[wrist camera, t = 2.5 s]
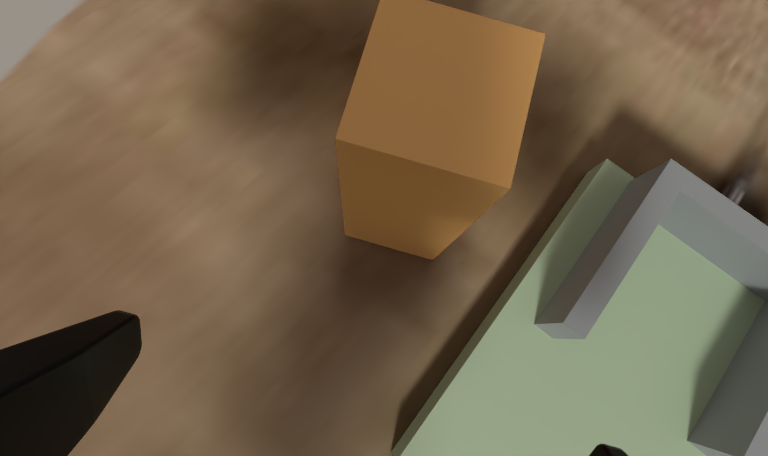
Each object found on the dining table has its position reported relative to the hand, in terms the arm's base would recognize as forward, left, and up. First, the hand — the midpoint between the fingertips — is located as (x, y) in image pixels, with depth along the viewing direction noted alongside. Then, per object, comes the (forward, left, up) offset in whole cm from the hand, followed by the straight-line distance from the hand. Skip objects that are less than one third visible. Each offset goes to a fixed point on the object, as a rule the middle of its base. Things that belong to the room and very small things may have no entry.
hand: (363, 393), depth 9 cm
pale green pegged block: (-3, -11, -13) cm, 18 cm away
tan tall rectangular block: (+7, -3, -13) cm, 15 cm away
